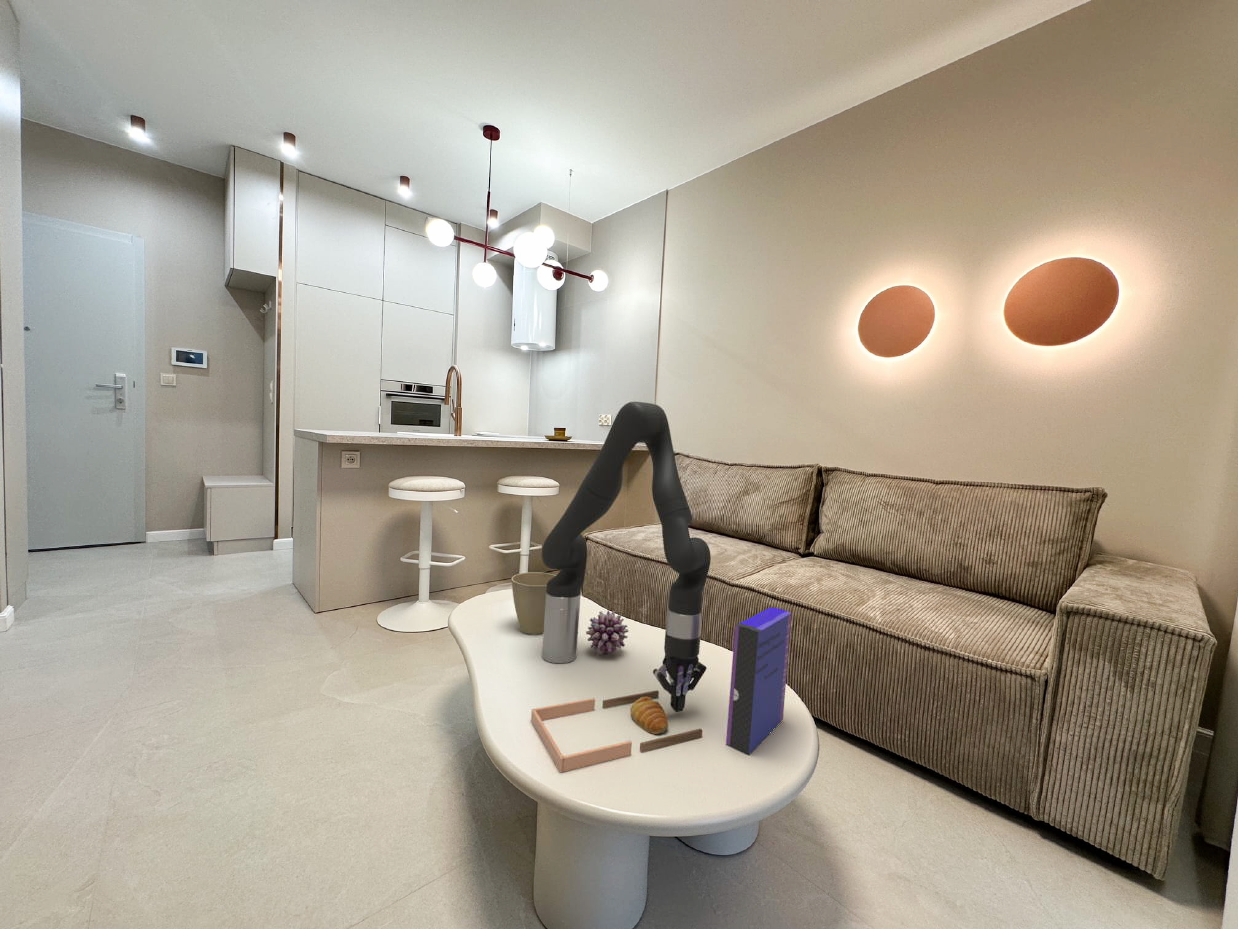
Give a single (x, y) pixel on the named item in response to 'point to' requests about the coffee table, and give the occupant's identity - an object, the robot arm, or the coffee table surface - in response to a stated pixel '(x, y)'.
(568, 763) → the terracotta pen
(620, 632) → the purple spiky ball
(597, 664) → the coffee table surface
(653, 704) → the pastry
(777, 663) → the cereal box
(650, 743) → the walnut chute
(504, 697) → the coffee table surface
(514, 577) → the plant pot
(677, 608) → the robot arm
